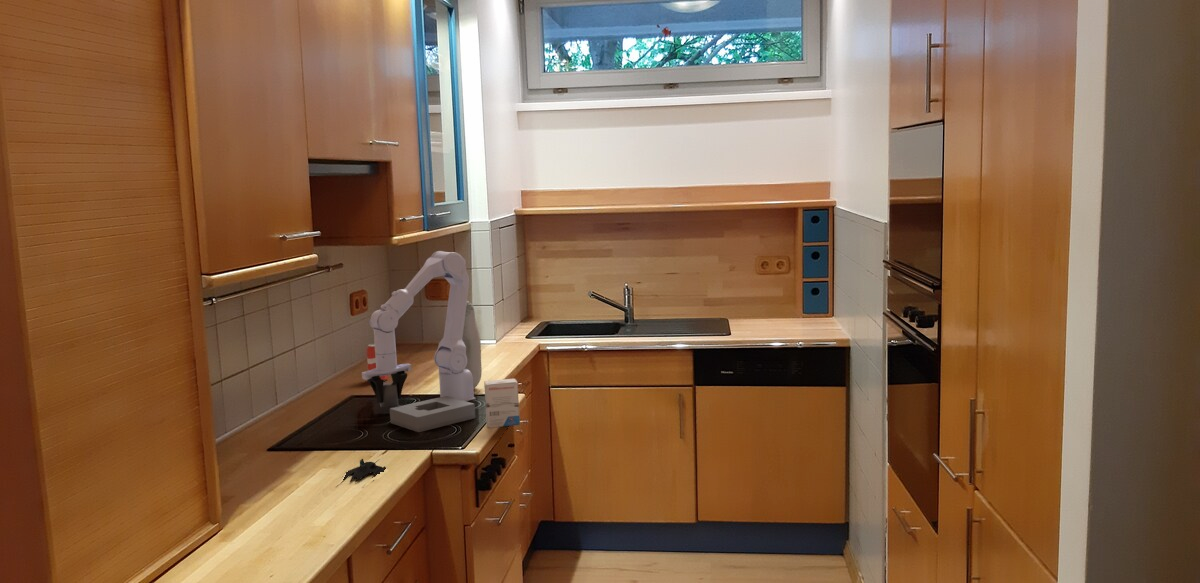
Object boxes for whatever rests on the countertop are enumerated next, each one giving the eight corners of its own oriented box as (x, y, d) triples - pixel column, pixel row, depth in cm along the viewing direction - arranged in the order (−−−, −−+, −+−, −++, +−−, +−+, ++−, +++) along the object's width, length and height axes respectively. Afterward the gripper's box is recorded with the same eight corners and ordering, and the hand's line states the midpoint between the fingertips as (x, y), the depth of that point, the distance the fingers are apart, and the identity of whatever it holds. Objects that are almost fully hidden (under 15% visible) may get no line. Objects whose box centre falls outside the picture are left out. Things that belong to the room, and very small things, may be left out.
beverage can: (365, 380, 302) (363, 344, 300) (383, 377, 305) (381, 342, 304) (373, 383, 297) (370, 347, 295) (391, 380, 301) (389, 344, 299)
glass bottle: (443, 389, 285) (438, 300, 281) (472, 384, 291) (467, 297, 287) (459, 395, 277) (454, 303, 273) (488, 389, 283) (484, 299, 280)
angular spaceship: (397, 468, 210) (396, 456, 210) (373, 492, 196) (372, 479, 195) (350, 467, 212) (350, 455, 211) (323, 491, 197) (322, 478, 197)
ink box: (518, 420, 246) (516, 377, 244) (520, 425, 241) (518, 381, 240) (485, 423, 244) (483, 380, 243) (487, 428, 239) (485, 384, 238)
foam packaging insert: (446, 409, 260) (445, 395, 260) (475, 418, 250) (474, 403, 249) (390, 422, 248) (389, 408, 247) (418, 432, 238) (417, 417, 237)
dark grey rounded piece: (401, 405, 257) (400, 384, 257) (386, 408, 254) (384, 387, 253) (389, 401, 262) (388, 380, 261) (374, 404, 259) (372, 384, 258)
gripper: (400, 347, 263) (403, 393, 265) (355, 355, 254) (358, 403, 255) (414, 349, 258) (417, 396, 260) (367, 358, 249) (371, 407, 250)
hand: (389, 400), depth 257 cm, fingers closed on dark grey rounded piece, 5 cm apart
